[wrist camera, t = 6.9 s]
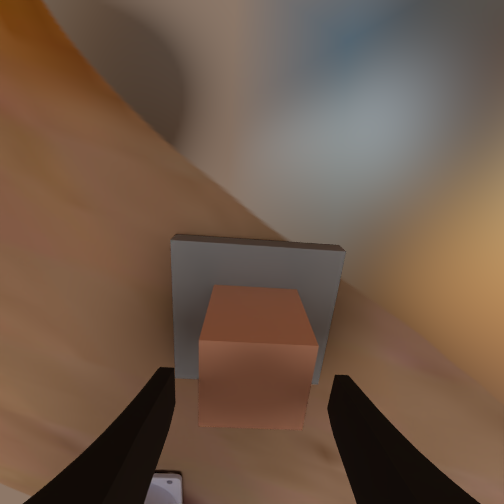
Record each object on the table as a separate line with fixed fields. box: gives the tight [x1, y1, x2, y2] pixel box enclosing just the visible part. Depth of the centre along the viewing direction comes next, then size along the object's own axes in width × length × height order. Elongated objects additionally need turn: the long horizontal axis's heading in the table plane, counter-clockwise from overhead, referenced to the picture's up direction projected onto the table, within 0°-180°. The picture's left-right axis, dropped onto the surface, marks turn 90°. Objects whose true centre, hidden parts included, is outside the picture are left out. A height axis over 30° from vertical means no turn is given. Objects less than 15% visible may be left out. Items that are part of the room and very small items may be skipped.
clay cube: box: [199, 285, 319, 430], centre depth 14 cm, size 5×5×5 cm
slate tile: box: [171, 234, 346, 384], centre depth 17 cm, size 10×10×1 cm
